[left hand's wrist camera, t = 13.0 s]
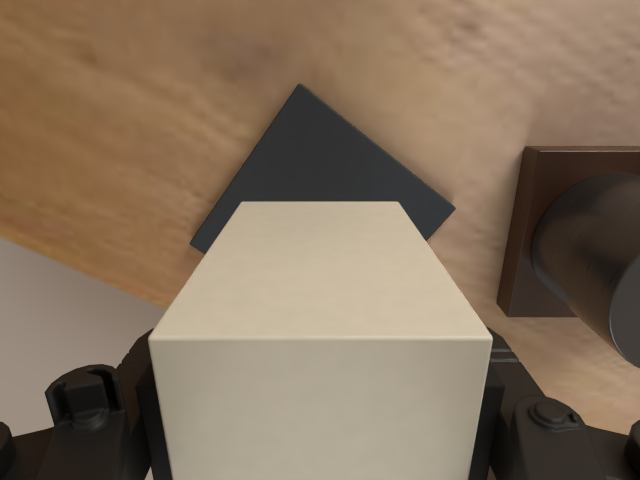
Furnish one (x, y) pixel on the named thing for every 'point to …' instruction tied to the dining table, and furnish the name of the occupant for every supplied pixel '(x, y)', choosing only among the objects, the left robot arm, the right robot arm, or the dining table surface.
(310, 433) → the cream rectangular block
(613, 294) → the stand
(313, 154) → the coaster
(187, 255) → the dining table surface
